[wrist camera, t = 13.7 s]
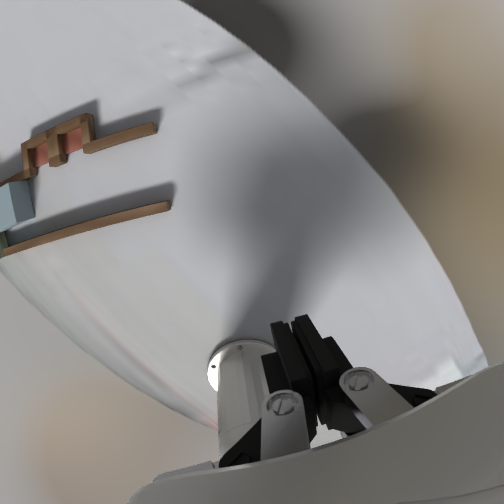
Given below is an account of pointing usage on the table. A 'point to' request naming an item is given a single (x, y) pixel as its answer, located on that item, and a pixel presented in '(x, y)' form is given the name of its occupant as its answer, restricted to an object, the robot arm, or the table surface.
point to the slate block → (15, 204)
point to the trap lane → (54, 151)
